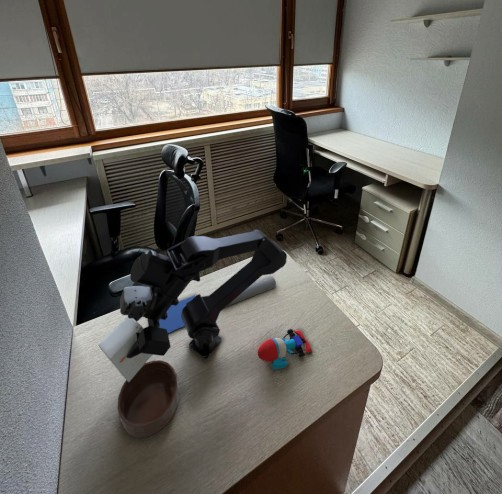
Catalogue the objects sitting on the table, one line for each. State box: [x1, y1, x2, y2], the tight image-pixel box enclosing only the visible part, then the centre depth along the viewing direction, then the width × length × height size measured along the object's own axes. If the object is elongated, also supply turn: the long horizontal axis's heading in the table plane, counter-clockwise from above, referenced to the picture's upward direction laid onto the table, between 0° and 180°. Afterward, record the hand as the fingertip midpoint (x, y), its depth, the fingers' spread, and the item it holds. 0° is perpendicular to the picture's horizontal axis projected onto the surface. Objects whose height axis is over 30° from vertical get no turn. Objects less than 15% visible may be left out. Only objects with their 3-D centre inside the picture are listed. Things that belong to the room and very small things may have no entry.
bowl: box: [117, 359, 180, 438], centre depth 61 cm, size 13×13×4 cm
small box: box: [97, 315, 153, 382], centre depth 62 cm, size 8×6×10 cm
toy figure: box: [257, 328, 313, 371], centre depth 71 cm, size 8×5×15 cm
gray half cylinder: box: [226, 276, 277, 307], centre depth 89 cm, size 4×20×2 cm, turn 115°
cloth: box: [159, 294, 196, 334], centre depth 82 cm, size 14×9×1 cm, turn 117°
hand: (127, 341), depth 62 cm, fingers closed on small box, 7 cm apart
